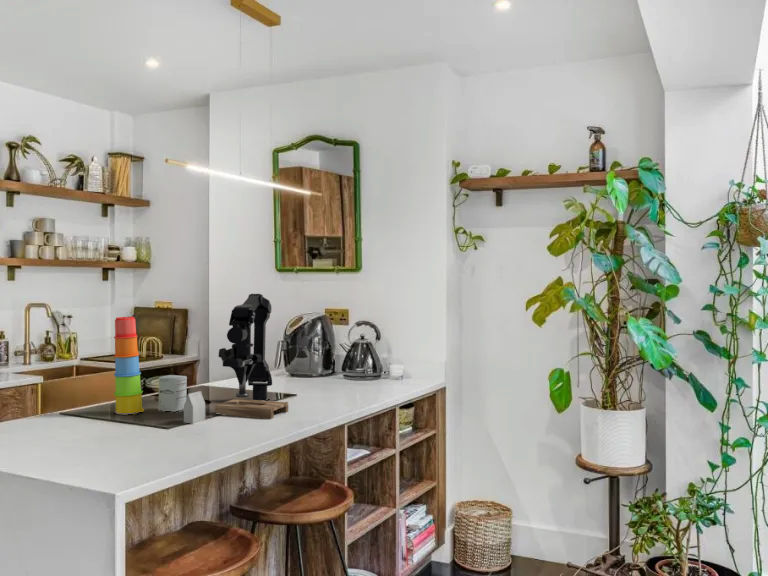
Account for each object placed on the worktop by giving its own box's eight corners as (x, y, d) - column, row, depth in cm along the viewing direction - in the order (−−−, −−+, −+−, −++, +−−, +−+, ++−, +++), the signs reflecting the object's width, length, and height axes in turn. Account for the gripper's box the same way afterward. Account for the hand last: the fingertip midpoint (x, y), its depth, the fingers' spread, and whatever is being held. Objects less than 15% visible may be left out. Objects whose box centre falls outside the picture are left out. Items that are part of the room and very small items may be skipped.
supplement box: (157, 411, 249) (157, 377, 249) (170, 408, 256) (170, 374, 256) (174, 413, 247) (175, 378, 247) (187, 409, 254) (187, 375, 254)
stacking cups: (138, 415, 242) (138, 317, 241) (109, 415, 242) (109, 317, 241) (148, 410, 252) (148, 316, 252) (120, 410, 252) (120, 316, 252)
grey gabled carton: (205, 420, 234) (205, 391, 234) (192, 424, 228) (193, 394, 228) (196, 419, 236) (196, 390, 235) (183, 423, 229) (183, 393, 229)
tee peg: (239, 394, 252) (239, 367, 252) (251, 395, 250) (251, 368, 250) (233, 396, 247) (233, 369, 247) (244, 397, 246) (245, 369, 246)
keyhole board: (235, 408, 257) (235, 398, 257) (288, 411, 251) (288, 402, 251) (215, 414, 244) (215, 405, 244) (270, 419, 238) (270, 408, 238)
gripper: (236, 338, 260) (235, 379, 260) (209, 342, 242) (209, 386, 242) (262, 339, 257) (262, 380, 257) (237, 343, 239) (237, 388, 239)
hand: (242, 383), depth 249 cm, fingers closed on tee peg, 2 cm apart
